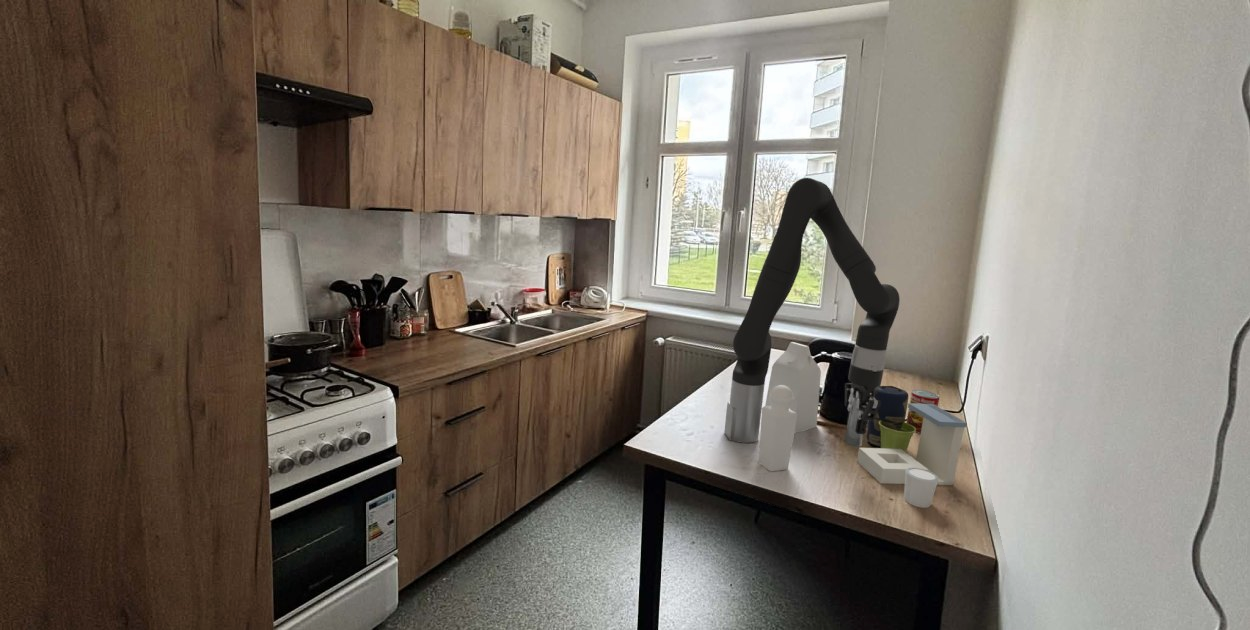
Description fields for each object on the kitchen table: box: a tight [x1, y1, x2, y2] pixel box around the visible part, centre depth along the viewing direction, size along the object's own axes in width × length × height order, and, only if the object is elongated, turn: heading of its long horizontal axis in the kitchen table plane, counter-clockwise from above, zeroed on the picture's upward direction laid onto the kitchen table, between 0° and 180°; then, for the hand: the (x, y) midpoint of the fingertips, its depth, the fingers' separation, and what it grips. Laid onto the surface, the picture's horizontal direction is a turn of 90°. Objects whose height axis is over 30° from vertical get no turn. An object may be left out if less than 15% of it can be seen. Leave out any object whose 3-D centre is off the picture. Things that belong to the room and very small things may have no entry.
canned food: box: [905, 389, 940, 434], centre depth 171 cm, size 8×8×12 cm
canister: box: [865, 385, 909, 448], centre depth 156 cm, size 10×10×18 cm
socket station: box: [856, 402, 967, 486], centre depth 138 cm, size 19×13×17 cm
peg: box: [844, 397, 866, 448], centre depth 134 cm, size 4×4×12 cm
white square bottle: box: [757, 385, 797, 472], centre depth 137 cm, size 6×6×22 cm
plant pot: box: [879, 420, 916, 453], centre depth 150 cm, size 9×9×9 cm
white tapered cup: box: [903, 468, 938, 509], centre depth 125 cm, size 7×7×7 cm
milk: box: [764, 341, 822, 434], centre depth 167 cm, size 12×12×26 cm
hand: (855, 429), depth 134 cm, fingers closed on peg, 4 cm apart
